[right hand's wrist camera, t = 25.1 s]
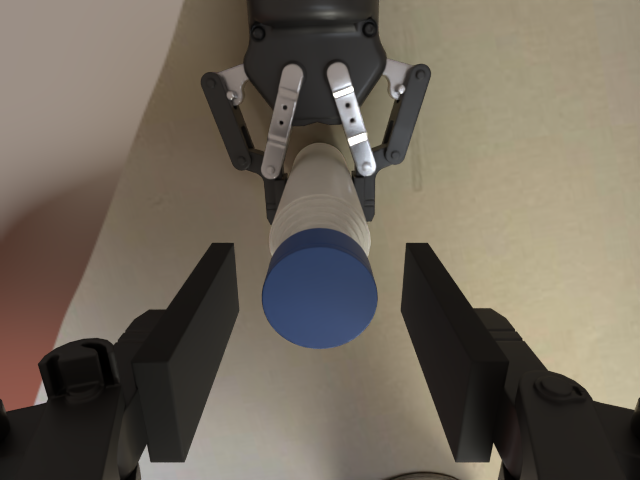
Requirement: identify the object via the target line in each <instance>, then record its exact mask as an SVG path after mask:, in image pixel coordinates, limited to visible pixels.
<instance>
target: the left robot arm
mask: <svg viewBox="0 0 640 480" xmlns="http://www.w3.org/2000/svg"><path fill="white" fill-rule="evenodd" d="M247 10H248V21H249V33H250V39H249V46H248V49H247V52H246V54H245V57H244V61H243V64H241V65H238V66H235V67H232V68H230V69H227V70H224V71H221V72H218V73H217V72H208V73H205V74H204V75H203V76H202V78H201V86H202V89H203V91H204V94H205V96H206V99H207V101H208V104H209V106H210V109H211V111H212V114H213V116H214V119H215V121H216V124H217V126H218V129H219V131H220V134H221V136H222V139H223V141H224V144H225V146H226V149H227V151H228V154H229V156H230V159H231V161H232V164H233V166H234V167H235V168H236V169H238V170H248V171H251V172H255V173H257V174H259V175H260V176H261V177H262V179H263V181H264V187H265V199H266V211H267V219H268V221H269V223H270V225H272V223H273V220H274V218H275V215H276V212H277V209H278V206H279V203H280V200H281V197H282V195H283V192H284V189H285V186H286V183H287V180H288V177H287V173H284V160H285V156H286V152H287V148H288V144H289V140H290V137H291V133H292V129H293V126H305V125H308V124H312V123H315V122H320V123H324V124H328V125H342V127H343V130H344V133H345V136H346V139H347V142H348V145H349V148H350V151H351V154H352V157H353V160H354V163H355V171H352V181H353V184H354V187H355V190H356V193H357V196H358V199H359V201H360V204H361V207H362V210H363V213H364V216H365V219H366V222H369V221H372V219H373V217H374V214H375V177H376V174H377V173H378V171H379V170H381V169H382V168H385V167H387V166H390V165H392V164H393V165H397V164H400V163H401V162H402V161H403V160H404V158H405V155H406V152H407V149H408V146H409V142H410V139H411V136H412V133H413V130H414V127H415V124H416V121H417V117H418V114H419V111H420V108H421V105H422V102H423V99H424V96H425V93H426V89H427V86H428V83H429V80H430V77H431V71H430V69H429V67H428V66H427V65H425V64H417V65H409V64H406V63H402V62H399V61H395V60H391V59H388V58H387V57H386V53H385V50H384V48H383V46H382V44H381V42H380V38H379V32H378V16H379V0H247ZM382 75H383V76H384V77H385V78H386V79H387V82H388V89H387V91H388V94H389V96H390V97H391V98H393V99H395V101H394V105H393V108H392V111H391V115H390V118H389V121H388V125H387V128H386V132H385V135H384V138H383V142H382V145H379V146H377V147H374V148H372V149H371V146H370V143H369V140H368V135H367V131H366V128H365V125H364V122H363V118H362V115H361V112H360V109H359V108H360V107H361V105H362V104H363V102H364V101H365V99H366V98H367V96H368V95H369V93H370V92H371V90H372V89H373V88H374V86H375V85H376V83H377V82H378V80H379V79H380V77H381V76H382ZM249 80H250V82H251V83H252V84H253V85H254V87H255V88H256V89H257V91H258V92H259V93H260V94H261V96H262V97H263V98H264V99H265V101H266V102H267V103H268V105H269V106H270V107H271V108H272V110H273V116H272V120H271V124H270V129H269V133H268V138H267V145H266V149H265V152H263V151H260V150H257V149H255V148H254V145H253V143H252V140H251V137H250V135H249V132H248V129H247V127H246V124H245V121H244V119H243V116H242V113H241V111H240V108H239V104H241V103H242V102H243V101H244V99H245V92H244V87H245V84H246V83H247V81H249Z"/></svg>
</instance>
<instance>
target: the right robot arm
mask: <svg viewBox="0 0 640 480" xmlns="http://www.w3.org/2000/svg"><path fill="white" fill-rule="evenodd" d="M238 313H239V301H238V289H237V277H236V264H235V252H234V243H212V244H211V245H210V247H209V248H208V250H207V251H206V253H205V254H204V256H203V257H202V258H201V260H200V261H199V263H198V264H197V266H196V267H195V269H194V270H193V272H192V273H191V274H190V276H189V277H188V279H187V280H186V282H185V283H184V285H183V286H182V287H181V289H180V290H179V292H178V293H177V295H176V296H175V298H174V299H173V300H172V302H171V303H170V305H169V306H168V308H167V309H166V310H148V311H147V312H145V313H143V314H142V315H140V316H139V317H137V318H136V319H134V321H133V322H132V323H131V324H130V326H129V327H128V328H127V329H126V331H125V333H123V334H122V336H121V337H120V338H119V339H118V343H115V344H114V346H113V344H112V343H110V342H109V341H108V340H105V339H100V338H89V339H81V340H77V341H73V342H69V343H67V344H65V345H62V346H60V347H58V348H56V349H54V350H53V351H51V352H50V353H48V354H47V355H45V356H44V357H43V359H42V360H41V361H40V362H39V363H38V366H39V369H40V373H41V376H42V380H43V383H44V386H45V390H46V393H47V397H48V400H47V403H43V404H39V405H35V406H30V407H26V408H21V409H17V410H12V411H8V412H6V411H5V408H4V405H3V402H2V400H1V399H0V480H141V474H140V468H139V463H138V461H139V459H140V457H141V455H142V453H143V451H144V449H145V447H146V445H147V447H148V452H149V457H150V462H185V460H186V457H187V454H188V451H189V449H190V446H191V443H192V440H193V437H194V435H195V432H196V429H197V426H198V424H199V421H200V418H201V415H202V412H203V410H204V407H205V404H206V401H207V399H208V396H209V393H210V390H211V388H212V385H213V382H214V379H215V376H216V374H217V371H218V368H219V365H220V363H221V360H222V357H223V354H224V352H225V349H226V346H227V343H228V340H229V338H230V335H231V332H232V329H233V327H234V324H235V321H236V318H237V316H238ZM401 313H402V316H403V318H404V321H405V324H406V327H407V329H408V332H409V335H410V338H411V340H412V343H413V346H414V349H415V352H416V354H417V357H418V360H419V363H420V365H421V368H422V371H423V374H424V376H425V379H426V382H427V385H428V388H429V390H430V393H431V396H432V399H433V401H434V404H435V407H436V410H437V412H438V415H439V418H440V421H441V424H442V426H443V429H444V432H445V435H446V437H447V440H448V443H449V446H450V449H451V451H452V454H453V457H454V460H455V462H490V457H491V452H492V447H493V443H494V445H495V447H496V449H497V451H498V453H499V455H500V457H501V459H502V463H501V468H500V472H499V477H498V480H640V398H639V399H638V402H637V405H636V408H635V410H632V409H627V408H622V407H618V406H613V405H609V404H604V403H600V402H596V401H593V399H592V398H591V396H590V395H589V393H588V392H587V391H586V389H585V388H583V387H582V386H581V385H579V384H578V383H577V382H576V381H574V380H572V379H570V378H568V377H566V376H564V375H562V374H558V373H555V372H551V371H548V370H547V369H546V367H545V366H544V365H543V364H542V362H541V361H540V360H539V359H538V357H537V356H536V355H535V354H534V352H533V351H532V350H531V349H530V347H529V346H528V345H527V344H526V343H525V341H523V340H522V338H521V336H520V335H519V334H518V333H517V332H515V329H514V328H513V326H512V325H511V324H510V323H509V321H508V320H507V319H506V318H505V317H503V316H502V315H500V314H499V313H497V312H496V311H494V310H493V309H491V308H472V306H471V305H470V303H469V302H468V300H467V299H466V298H465V296H464V295H463V293H462V292H461V290H460V289H459V287H458V286H457V285H456V283H455V282H454V280H453V279H452V277H451V276H450V274H449V273H448V272H447V270H446V269H445V267H444V266H443V264H442V263H441V261H440V260H439V258H438V257H437V256H436V254H435V253H434V251H433V250H432V248H431V247H430V245H429V244H428V243H406V252H405V264H404V277H403V289H402V301H401ZM392 480H456V479H454V478H451V477H448V476H444V475H439V474H427V473H423V474H411V475H405V476H401V477H397V478H394V479H392Z"/></svg>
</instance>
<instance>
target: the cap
mask: <svg viewBox="0 0 640 480" xmlns="http://www.w3.org/2000/svg"><path fill="white" fill-rule="evenodd" d="M377 300H378V299H377V288H376V284H375V280H374V277H373V273H372V270H371V266H370V263H369V260H368V257H367V255H366V253H365V252H364V250H363V249H362V247H361V246H360V245H359V244H358V243H357V242H356V241H355V240H354V239H352V238H351V237H349V236H348V235H346V234H344V233H342V232H340V231H336V230H333V229H328V228H311V229H306V230H303V231H300V232H297V233H295V234H293V235H292V236H290V237H289V238H287V239H286V240H285V241H283V242H282V243H281V244H280V246H279V247H278V248H277V249H276V251H275V252H274V254H273V256H272V258H271V261H270V264H269V268H268V271H267V275H266V278H265V282H264V285H263V290H262V305H263V309H264V313H265V315H266V317H267V320H268V321H269V323H270V324H271V326H272V327H273V328H274V329H275V331H276V332H277V333H279V334H280V335H281V336H282V337H284V338H285V339H286V340H288V341H290V342H292V343H294V344H297V345H299V346H303V347H307V348H313V349H326V348H333V347H337V346H340V345H343V344H345V343H348V342H349V341H351V340H353V339H354V338H356V337H357V336H359V335H360V334H361V333H362V332H363V331H364V330H365V329H366V327H367V326H368V325H369V323H370V322H371V320H372V318H373V316H374V314H375V311H376V307H377Z"/></svg>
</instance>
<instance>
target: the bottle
mask: <svg viewBox="0 0 640 480" xmlns="http://www.w3.org/2000/svg"><path fill="white" fill-rule="evenodd" d="M311 228H328V229H333V230H336V231H340V232H342V233H344V234H346V235H348V236H349V237H351V238H352V239H354V240H355V241H356V242H357V243H358V244H359V245H360V246H361V247H362V249H363V250H364V252H365V253H366V255H367V257H368V255H369V251H370V243H371V239H370V232H369V228H368V225H367V222H366V219H365V216H364V213H363V210H362V207H361V204H360V201H359V199H358V196H357V193H356V190H355V187H354V184H353V181H352V178H351V175H350V172H349V170H348V167H347V164H346V161H345V158H344V156H343V155H342V153H341V152H340V151H339V150H338V149H337V148H335V147H334V146H332V145H330V144H327V143H313V144H310V145H308V146H306V147H304V148H303V149H302V150H301V151H300V152H299V153H298V154H297V156H296V158H295V160H294V163H293V166H292V169H291V172H290V174H289V177H288V180H287V183H286V186H285V189H284V192H283V195H282V197H281V200H280V203H279V206H278V209H277V212H276V215H275V218H274V220H273V223H272V226H271V230H270V234H269V248H270V253H271V256H273V254H274V252H275V251H276V249H277V248H278V247H279V246H280V244H281V243H282V242H283V241H285V240H286V239H287V238H289V237H290V236H292V235H293V234H295V233H297V232H300V231H303V230H306V229H311Z"/></svg>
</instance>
